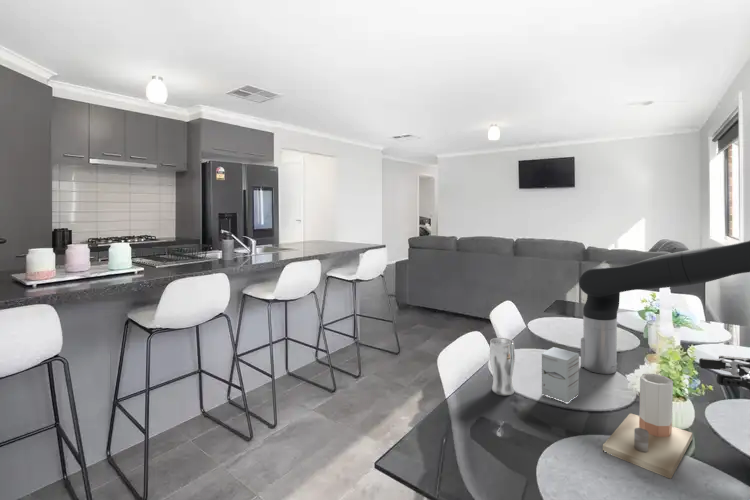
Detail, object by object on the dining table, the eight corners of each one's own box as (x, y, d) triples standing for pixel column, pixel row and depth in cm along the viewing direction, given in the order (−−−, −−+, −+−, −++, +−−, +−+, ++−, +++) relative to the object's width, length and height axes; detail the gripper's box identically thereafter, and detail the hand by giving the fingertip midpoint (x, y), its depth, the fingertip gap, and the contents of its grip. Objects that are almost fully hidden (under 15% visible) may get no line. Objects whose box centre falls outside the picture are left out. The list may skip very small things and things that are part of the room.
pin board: (602, 451, 83) (602, 427, 83) (630, 418, 95) (630, 397, 94) (671, 479, 74) (671, 452, 73) (692, 439, 86) (692, 415, 85)
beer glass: (517, 397, 108) (516, 345, 107) (491, 396, 110) (490, 345, 108) (513, 385, 115) (512, 337, 113) (489, 385, 116) (488, 337, 115)
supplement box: (540, 396, 108) (540, 353, 107) (553, 387, 113) (553, 345, 111) (567, 405, 102) (567, 360, 101) (579, 396, 107) (579, 352, 106)
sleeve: (636, 429, 88) (637, 379, 86) (644, 419, 91) (645, 371, 90) (666, 439, 83) (668, 387, 82) (673, 429, 87) (675, 378, 86)
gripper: (783, 349, 86) (695, 343, 92) (832, 377, 73) (725, 368, 79) (780, 381, 87) (693, 373, 93) (828, 414, 74) (723, 402, 79)
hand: (708, 370), depth 86 cm, fingers open, 8 cm apart
